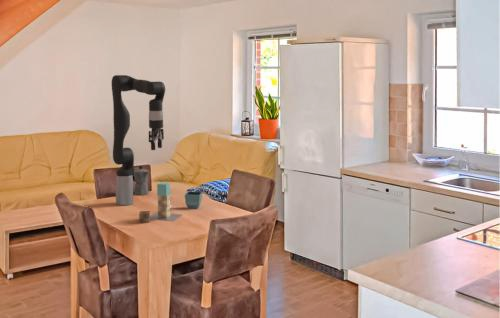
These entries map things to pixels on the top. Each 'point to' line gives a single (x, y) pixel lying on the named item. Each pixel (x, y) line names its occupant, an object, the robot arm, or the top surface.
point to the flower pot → (193, 199)
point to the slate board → (171, 218)
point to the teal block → (163, 189)
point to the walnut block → (144, 217)
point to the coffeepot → (140, 181)
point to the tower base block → (164, 212)
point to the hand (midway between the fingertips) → (156, 148)
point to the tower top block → (163, 201)
